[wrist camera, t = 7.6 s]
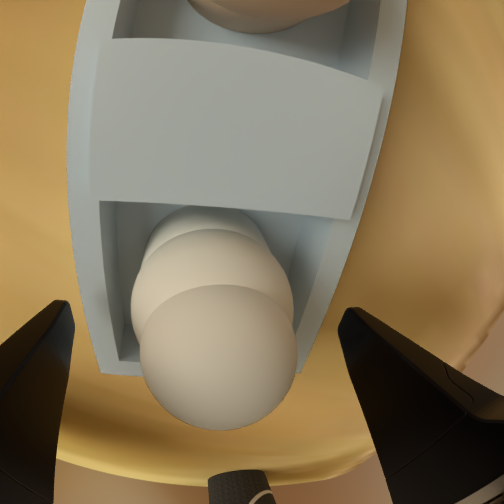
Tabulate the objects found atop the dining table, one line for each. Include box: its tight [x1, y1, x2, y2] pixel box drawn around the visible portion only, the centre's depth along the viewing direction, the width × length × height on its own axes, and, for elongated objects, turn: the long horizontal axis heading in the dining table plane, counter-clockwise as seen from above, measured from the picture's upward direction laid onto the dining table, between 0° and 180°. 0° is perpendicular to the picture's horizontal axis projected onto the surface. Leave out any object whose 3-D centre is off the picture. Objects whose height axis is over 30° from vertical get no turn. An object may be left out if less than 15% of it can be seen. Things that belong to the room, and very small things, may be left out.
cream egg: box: [131, 205, 298, 430], centre depth 8 cm, size 5×5×6 cm
